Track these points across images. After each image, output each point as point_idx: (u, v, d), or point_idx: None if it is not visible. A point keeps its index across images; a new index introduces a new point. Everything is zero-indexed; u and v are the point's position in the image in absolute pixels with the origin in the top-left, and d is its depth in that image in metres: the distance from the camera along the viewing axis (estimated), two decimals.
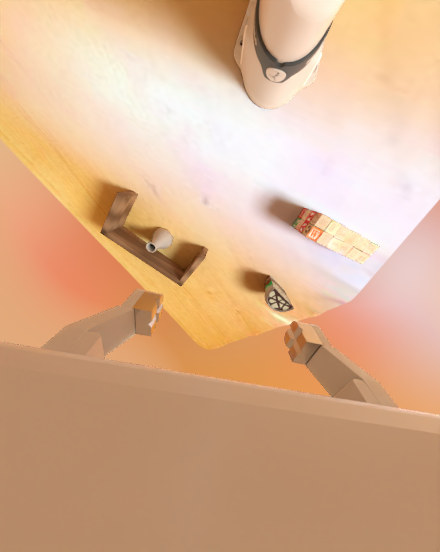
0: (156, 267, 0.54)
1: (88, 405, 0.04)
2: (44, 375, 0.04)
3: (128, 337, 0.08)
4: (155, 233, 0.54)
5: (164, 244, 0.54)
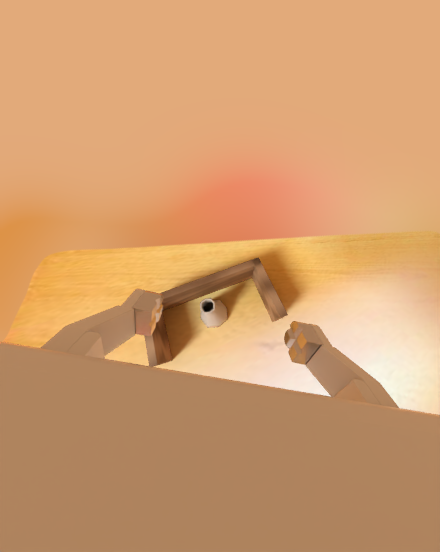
0: (182, 288, 0.37)
1: (88, 405, 0.04)
2: (44, 375, 0.04)
3: (128, 337, 0.08)
4: (222, 312, 0.40)
5: (204, 315, 0.38)
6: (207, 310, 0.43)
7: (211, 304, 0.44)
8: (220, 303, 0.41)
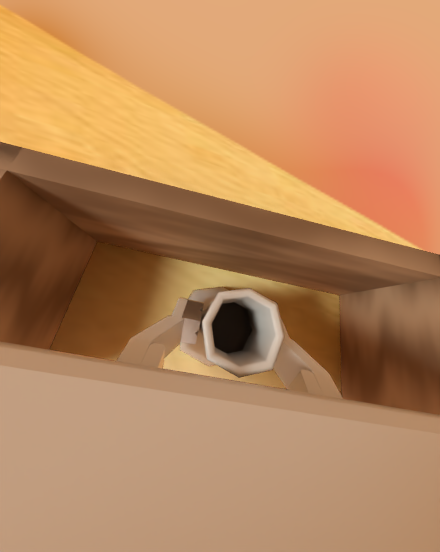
0: (177, 200, 0.09)
1: (88, 405, 0.04)
2: (44, 375, 0.04)
3: (175, 345, 0.08)
4: None
5: None
6: None
7: None
8: None
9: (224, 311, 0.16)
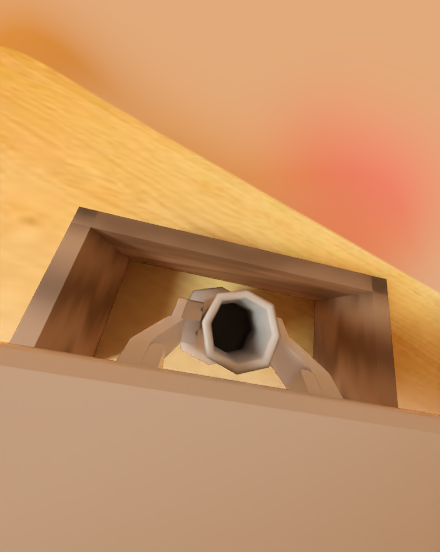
0: (193, 242, 0.15)
1: (88, 405, 0.04)
2: (44, 375, 0.04)
3: (175, 345, 0.08)
4: None
5: None
6: None
7: None
8: None
9: (223, 310, 0.16)
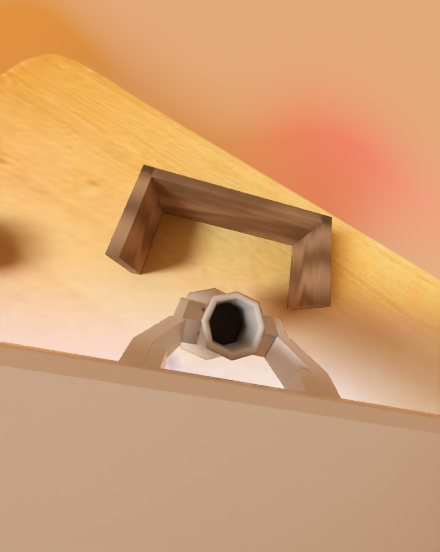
0: (212, 189, 0.24)
1: (88, 405, 0.04)
2: (44, 375, 0.04)
3: (177, 346, 0.08)
4: None
5: None
6: None
7: None
8: None
9: (218, 309, 0.18)
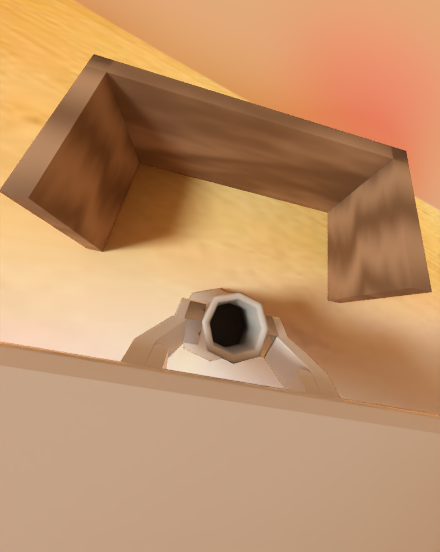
0: (213, 98, 0.14)
1: (88, 405, 0.04)
2: (44, 375, 0.04)
3: (178, 346, 0.08)
4: None
5: None
6: None
7: None
8: None
9: (221, 310, 0.17)
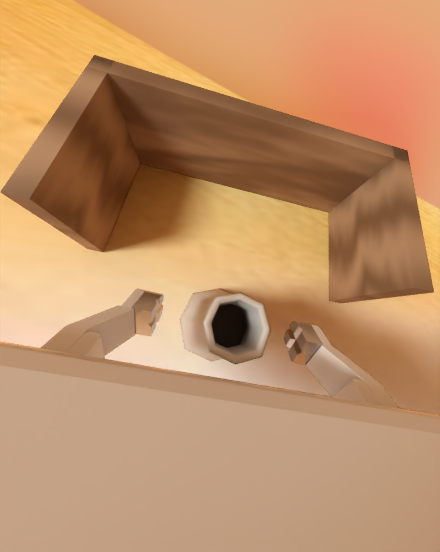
0: (214, 98, 0.14)
1: (88, 405, 0.04)
2: (44, 375, 0.04)
3: (128, 337, 0.08)
4: None
5: (194, 327, 0.13)
6: None
7: None
8: None
9: (222, 310, 0.17)
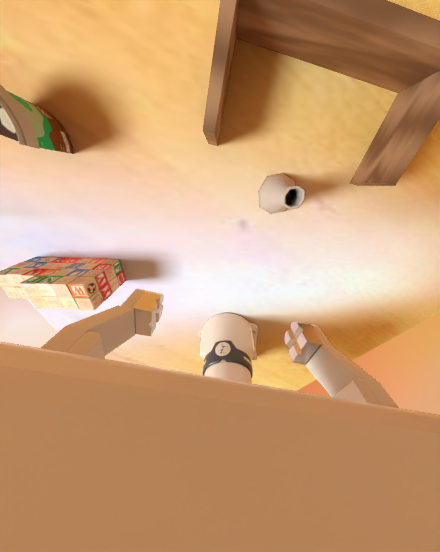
0: None
1: (88, 405, 0.04)
2: (44, 375, 0.04)
3: (128, 337, 0.08)
4: (290, 204, 0.31)
5: (270, 196, 0.29)
6: None
7: None
8: None
9: None
